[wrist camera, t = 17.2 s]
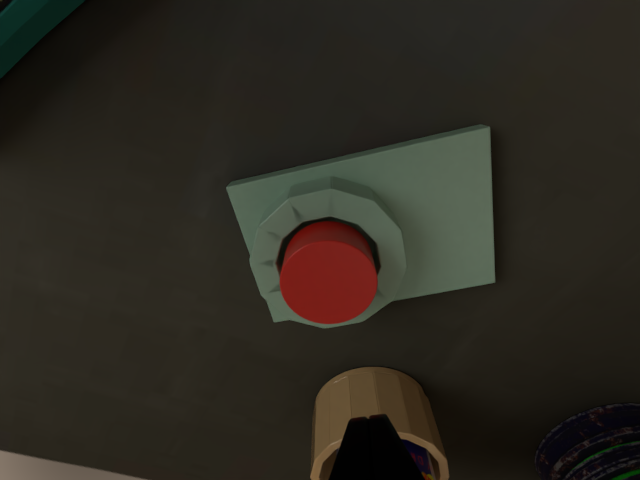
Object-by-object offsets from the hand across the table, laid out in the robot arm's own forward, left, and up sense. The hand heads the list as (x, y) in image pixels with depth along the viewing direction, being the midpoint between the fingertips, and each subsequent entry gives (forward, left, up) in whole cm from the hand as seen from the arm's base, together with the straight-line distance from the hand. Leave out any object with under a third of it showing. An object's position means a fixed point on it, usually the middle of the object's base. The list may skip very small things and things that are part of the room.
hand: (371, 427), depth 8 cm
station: (-1, 0, -11) cm, 11 cm away
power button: (+1, 0, -9) cm, 9 cm away
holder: (+1, +13, -11) cm, 18 cm away
